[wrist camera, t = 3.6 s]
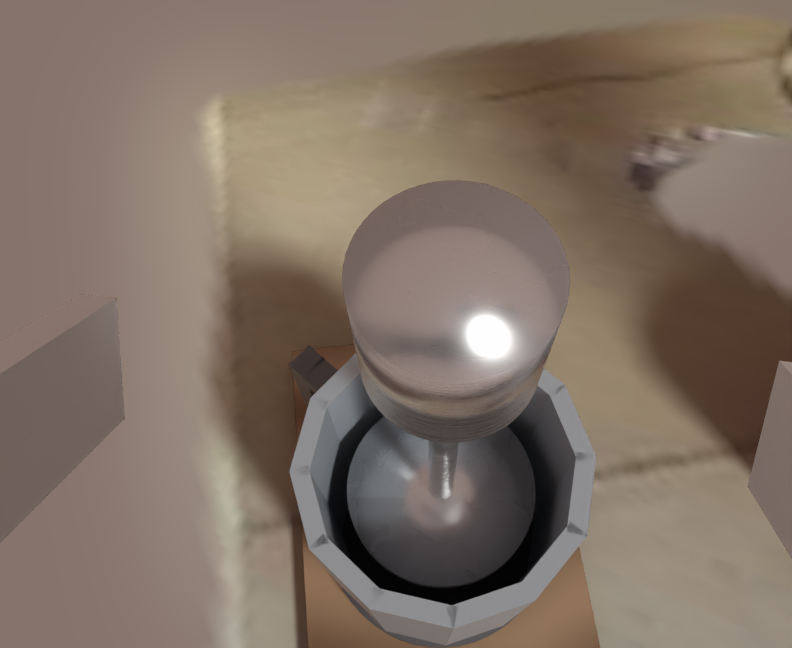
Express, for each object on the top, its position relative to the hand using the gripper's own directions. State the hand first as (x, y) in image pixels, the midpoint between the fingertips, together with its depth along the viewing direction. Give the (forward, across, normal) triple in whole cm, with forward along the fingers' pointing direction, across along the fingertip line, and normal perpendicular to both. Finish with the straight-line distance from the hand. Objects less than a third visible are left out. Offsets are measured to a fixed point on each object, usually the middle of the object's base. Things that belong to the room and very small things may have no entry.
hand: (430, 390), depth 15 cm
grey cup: (+20, +1, +16) cm, 26 cm away
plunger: (+13, 0, +11) cm, 17 cm away
